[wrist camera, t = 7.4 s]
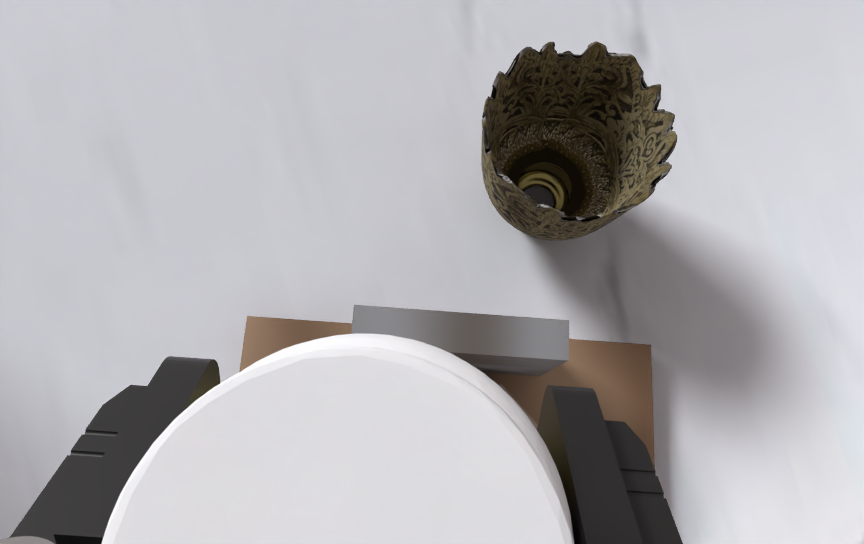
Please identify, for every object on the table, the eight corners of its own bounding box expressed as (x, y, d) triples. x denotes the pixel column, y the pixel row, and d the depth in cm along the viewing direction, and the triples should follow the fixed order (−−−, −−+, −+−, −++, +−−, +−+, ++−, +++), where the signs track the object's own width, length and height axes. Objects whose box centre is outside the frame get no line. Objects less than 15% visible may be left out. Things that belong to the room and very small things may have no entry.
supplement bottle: (511, 640, 14) (727, 981, 5) (252, 662, 14) (-76, 1081, 4) (487, 383, 16) (613, 252, 6) (253, 398, 15) (14, 285, 6)
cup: (611, 139, 34) (675, 45, 26) (613, 278, 32) (683, 221, 24) (466, 127, 33) (487, 29, 26) (458, 266, 31) (479, 205, 24)
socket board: (205, 665, 26) (150, 726, 20) (252, 321, 30) (217, 288, 24) (649, 688, 27) (721, 754, 21) (641, 348, 31) (700, 323, 25)
